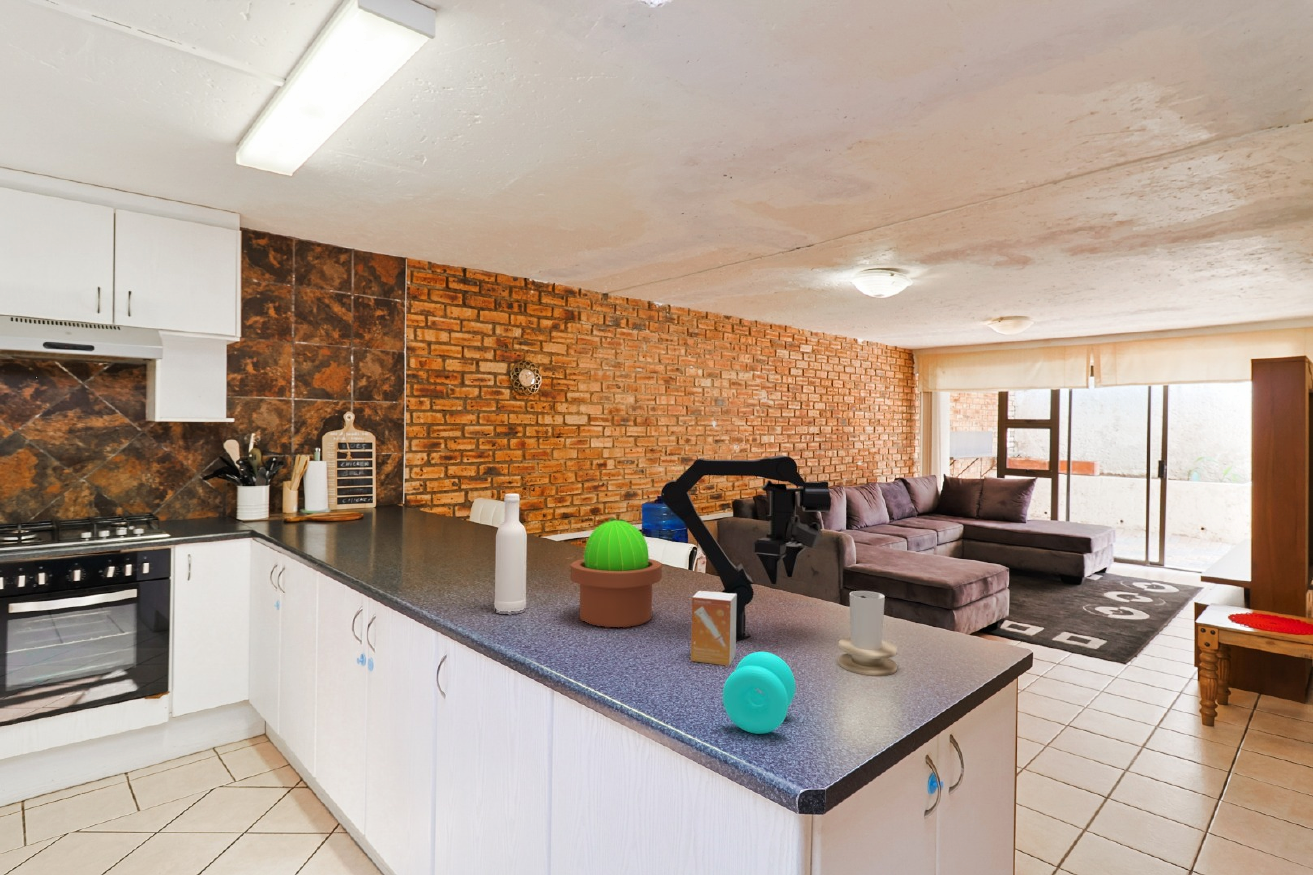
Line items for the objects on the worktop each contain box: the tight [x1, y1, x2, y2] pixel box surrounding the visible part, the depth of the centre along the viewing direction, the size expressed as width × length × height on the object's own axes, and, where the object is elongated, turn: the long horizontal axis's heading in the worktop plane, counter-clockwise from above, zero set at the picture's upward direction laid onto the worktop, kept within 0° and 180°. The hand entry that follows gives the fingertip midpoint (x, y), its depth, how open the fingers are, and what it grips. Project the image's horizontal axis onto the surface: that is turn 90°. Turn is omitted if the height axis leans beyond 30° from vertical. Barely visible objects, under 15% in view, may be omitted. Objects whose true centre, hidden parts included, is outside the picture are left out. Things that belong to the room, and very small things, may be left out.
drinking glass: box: [849, 590, 886, 650], centre depth 127 cm, size 7×7×10 cm
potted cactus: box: [570, 518, 663, 629], centre depth 159 cm, size 22×22×25 cm
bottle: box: [494, 493, 528, 612], centre depth 164 cm, size 8×8×30 cm
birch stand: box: [838, 636, 898, 677], centre depth 127 cm, size 11×11×4 cm
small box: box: [690, 590, 737, 667], centre depth 130 cm, size 8×6×13 cm
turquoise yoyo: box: [722, 651, 797, 735], centre depth 100 cm, size 10×10×10 cm
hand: (782, 580), depth 144 cm, fingers open, 9 cm apart
